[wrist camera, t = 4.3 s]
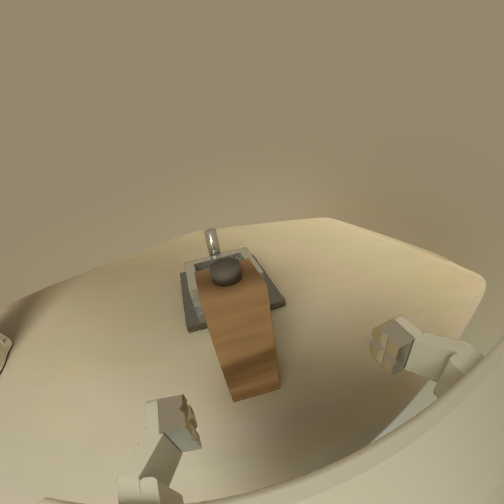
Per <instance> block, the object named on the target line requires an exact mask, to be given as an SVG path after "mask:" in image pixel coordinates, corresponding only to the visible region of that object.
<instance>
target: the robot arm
mask: <svg viewBox="0 0 504 504" xmlns="http://www.w3.org/2000/svg"><path fill="white" fill-rule="evenodd" d="M372 336H373V337H374V338H373V339H372V341H371V342H370V351H371V354H372V356H373V357H374V359H375V360H376V361H379V362H382V368H383V369H384V370H385V371H386V372H387V373H388V374H389V376H392V375H394V374H395V373H397V372H399V371H401V370H402V369H404V368H405V370H408V371H410V372H413V373H415V374H418V375H420V376H423V377H425V378H428V379H430V380H433V381H436V382H438V383H437V385H436V387H435V389H434V391H433V393H434V394H435V395H436V396H437V397H438V399H437V400H436V401H435V402H433V403H432V404H431V405H430V406H428V407H427V408H425V409H424V410H423V411H421V412H420V413H418V414H417V415H416V416H414V417H413V418H411V419H410V420H408V421H407V422H405V423H404V424H402V425H401V426H399V427H398V428H396V429H395V430H393V431H391V432H390V433H388V434H386V435H385V436H383V437H382V438H380V439H378V440H376V441H375V442H373V443H371V444H369V445H367V446H366V447H364V448H362V449H360V450H358V451H356V452H354V453H352V454H350V455H348V456H346V457H344V458H342V459H340V460H338V461H336V462H333V463H331V464H329V465H327V466H324V467H322V468H320V469H317V470H315V471H312V472H310V473H307V474H305V475H302V476H299V477H297V478H294V479H291V480H288V481H285V482H282V483H279V484H276V485H273V486H269V487H266V488H263V489H259V490H255V491H252V492H248V493H244V494H239V495H235V496H230V497H225V498H220V499H215V500H209V501H203V502H196V503H188V504H504V336H503V337H502V338H501V339H500V341H499V342H498V343H497V344H496V345H495V346H494V347H493V348H492V349H491V350H490V352H489V353H488V354H487V355H486V356H485V357H484V356H483V355H482V354H480V353H479V352H478V351H477V350H476V349H475V348H474V347H472V346H471V345H470V344H469V343H468V342H464V341H460V340H455V339H451V338H447V337H442V336H438V335H434V334H430V333H425V334H424V333H422V332H421V331H420V330H419V329H418V328H417V327H415V326H414V325H413V324H412V323H411V322H410V321H408V320H407V319H406V318H405V317H404V316H402V315H399V316H397V317H395V318H393V319H392V320H389V321H387V322H385V323H383V324H381V325H379V326H377V327H375V328H374V329H373V331H372ZM12 344H13V342H12V341H11V340H10V339H9V338H8V337H6V336H5V335H3V334H1V333H0V371H1V370H2V368H3V366H4V363H5V360H6V356H7V353H8V351H9V350H10V348H11V346H12ZM145 413H146V436H143V437H142V439H141V440H140V442H139V443H138V445H137V447H136V448H135V450H134V451H133V453H132V455H131V456H130V458H129V459H128V461H127V463H126V464H125V466H124V468H123V469H122V471H121V472H120V474H119V476H118V477H117V484H118V500H119V504H184V502H183V498H182V495H181V494H179V493H178V492H176V491H174V490H173V489H171V488H169V485H170V483H171V480H172V478H173V475H174V473H175V470H176V468H177V466H178V463H179V461H180V458H181V456H182V452H187V451H192V450H196V449H201V448H202V446H201V441H200V436H199V434H198V432H197V431H196V430H195V429H196V427H197V422H196V418H195V415H194V412H193V410H192V408H191V406H190V405H188V404H187V400H186V398H185V396H184V395H179V396H173V397H168V398H162V399H156V400H150V401H146V404H145ZM38 504H84V503H76V502H70V501H64V500H59V499H54V498H43V499H42V500H41V501H40V502H39V503H38Z"/></svg>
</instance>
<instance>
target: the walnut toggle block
mask: <svg viewBox="0 0 504 504" xmlns="http://www.w3.org/2000/svg"><path fill="white" fill-rule="evenodd" d="M194 274H195V279H196V284H197V289H198V294H199V298H200V303H201V306H202V310H203V313H204V316H205V319H206V323H207V326H208V329H209V332H210V335H211V338H212V341H213V345H214V348H215V351H216V354H217V357H218V360H219V362H220V365H221V368H222V371H223V374H224V377H225V380H226V382H227V385H228V388H229V391H230V393H231V396H232V399H233V402H237V401H240V400H244V399H247V398H251V397H254V396H257V395H260V394H264V393H267V392H270V391H273V390H276V389H279V388H280V382H279V374H278V366H277V358H276V350H275V342H274V334H273V326H272V319H271V311H270V303H269V296H268V288H267V285H266V283H265V281H264V280H263V278H262V277H261V275H260V274H259V272H258V271H257V269H256V268H255V266H254V265H253V263H252V262H251V260H250V259H249V258H246V259H243V260H237V259H235V258H223V259H220V260H217V261H215V262H213V263H212V264H211V265H210V267H209V268H207V269H204V270H200V271H196V272H194Z"/></svg>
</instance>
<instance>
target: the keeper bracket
mask: <svg viewBox="0 0 504 504" xmlns="http://www.w3.org/2000/svg"><path fill="white" fill-rule="evenodd" d="M204 233H205V238H206V242H207V246H208V251H209V255H210V256H209V257H205V258H201V259H197V260H193V261H189V262H185V268H186V272H183V273H180V276H181V285H182V294H183V303H184V310H185V318H186V325H187V329H188V332H193V331H197V330H201V329H205V328H208V326H207V323H206V319H205V316H204V313H203V310H202V306H201V303H200V298H199V294H198V289H197V284H196V279H195V274H194V272H196V271H200V270H204V269H207V268H209V267H210V265H211V264H212V263H213V262H215V261H217V260H220V259H223V258H235V259H237V260H243V259H246V258H249V259H250V260H251V262H252V263H253V265H254V266H255V268H256V269H257V271H258V272H259V274H260V275H261V277H262V278H263V280H264V281H265V283H266V285H267V288H268V296H269V303H270V310H272V309H276V308H279V307H282V306H285V299H284V298H283V297H282V295H281V294H280V292H279V291H278V289H277V288H276V287H275V285H274V284H273V282H272V281H271V280H270V278H269V277H268V275H267V274H266V273H265V271H264V270H263V268H262V267H261V265H260V264H259V263H258V261H257V260H256V258H255V257H254V256H253V255H251V253H250V252H249V250H248V249H247V247H245V248H241V249H237V250H233V251H229V252H225V253H220V248H219V243H218V238H217V233H216V229H208V230H206V231H205V232H204Z"/></svg>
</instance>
